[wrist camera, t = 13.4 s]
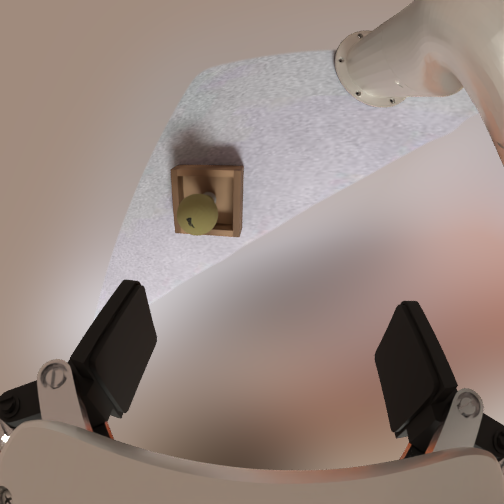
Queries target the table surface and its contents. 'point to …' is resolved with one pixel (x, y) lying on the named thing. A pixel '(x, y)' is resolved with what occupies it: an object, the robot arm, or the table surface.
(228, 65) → the table surface
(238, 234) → the open wooden box
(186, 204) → the light bulb
